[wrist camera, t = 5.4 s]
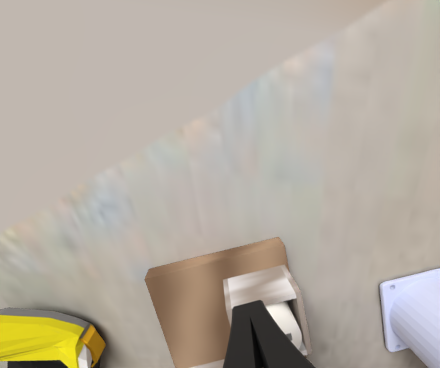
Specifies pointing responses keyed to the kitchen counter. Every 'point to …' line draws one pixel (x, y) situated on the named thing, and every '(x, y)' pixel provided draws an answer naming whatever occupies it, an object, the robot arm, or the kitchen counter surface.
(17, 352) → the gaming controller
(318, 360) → the kitchen counter surface
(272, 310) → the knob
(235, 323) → the robot arm
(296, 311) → the knob board
